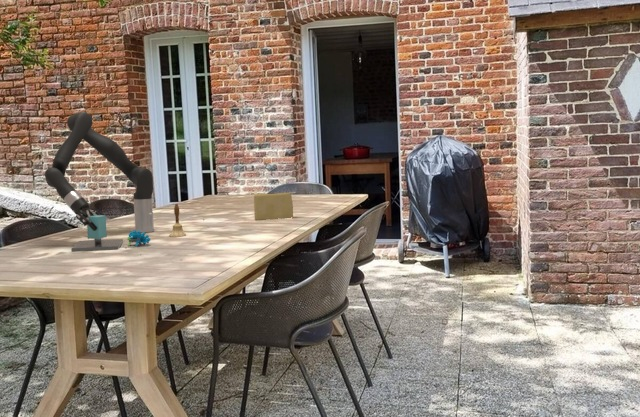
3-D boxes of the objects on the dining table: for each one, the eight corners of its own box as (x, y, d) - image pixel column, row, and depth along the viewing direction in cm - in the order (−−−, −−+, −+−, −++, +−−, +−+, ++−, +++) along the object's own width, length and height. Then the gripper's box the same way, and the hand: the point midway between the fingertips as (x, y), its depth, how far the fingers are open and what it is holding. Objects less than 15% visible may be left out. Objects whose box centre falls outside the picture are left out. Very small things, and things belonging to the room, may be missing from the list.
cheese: (292, 217, 411) (292, 191, 409) (293, 219, 402) (292, 193, 400) (255, 218, 410) (254, 192, 408) (254, 220, 400) (253, 194, 398)
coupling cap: (95, 236, 327) (94, 215, 326) (106, 236, 326) (105, 215, 324) (87, 238, 321) (86, 216, 320) (99, 238, 320) (98, 217, 319)
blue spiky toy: (154, 240, 327) (143, 228, 320) (150, 251, 324) (139, 238, 317) (135, 243, 332) (123, 230, 325) (131, 253, 328) (119, 240, 321)
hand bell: (189, 235, 352) (188, 203, 350) (175, 237, 346) (174, 205, 344) (179, 233, 358) (178, 202, 356) (166, 235, 352) (164, 204, 350)
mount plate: (123, 242, 335) (122, 223, 334) (117, 249, 316) (116, 229, 315) (79, 244, 332) (78, 225, 331) (71, 251, 313) (70, 231, 312)
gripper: (71, 198, 316) (95, 225, 315) (90, 195, 330) (113, 220, 328) (62, 210, 319) (86, 236, 317) (81, 206, 332) (104, 231, 330)
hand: (100, 228), depth 322 cm, fingers closed on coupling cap, 6 cm apart
